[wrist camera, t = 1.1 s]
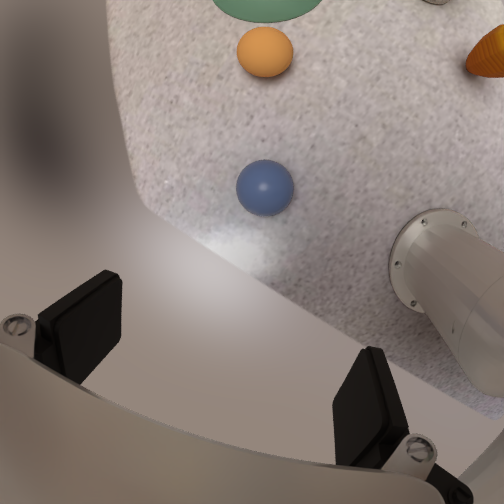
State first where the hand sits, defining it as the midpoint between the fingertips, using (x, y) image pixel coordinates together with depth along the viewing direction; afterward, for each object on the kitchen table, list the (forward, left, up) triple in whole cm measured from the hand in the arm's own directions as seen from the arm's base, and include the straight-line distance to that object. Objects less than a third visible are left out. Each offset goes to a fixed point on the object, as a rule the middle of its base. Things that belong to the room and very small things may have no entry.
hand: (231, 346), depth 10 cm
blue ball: (+4, -1, -20) cm, 20 cm away
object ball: (+16, -8, -20) cm, 27 cm away
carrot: (+5, -30, -23) cm, 38 cm away
